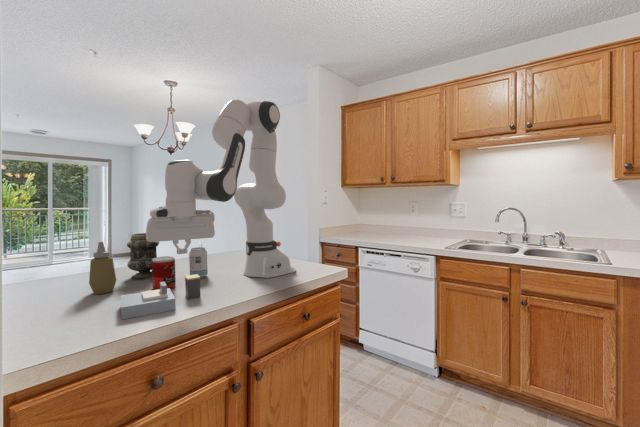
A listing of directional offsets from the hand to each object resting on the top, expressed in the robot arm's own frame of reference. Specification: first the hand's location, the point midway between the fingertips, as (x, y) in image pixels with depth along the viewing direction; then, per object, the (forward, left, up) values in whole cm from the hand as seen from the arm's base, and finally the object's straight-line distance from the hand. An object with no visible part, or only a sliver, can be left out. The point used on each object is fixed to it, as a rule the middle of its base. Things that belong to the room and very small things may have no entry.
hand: (182, 253), depth 104 cm
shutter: (+8, 0, -12) cm, 15 cm away
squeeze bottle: (+22, -26, -16) cm, 38 cm away
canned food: (+3, -20, -16) cm, 26 cm away
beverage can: (-11, -28, -16) cm, 34 cm away
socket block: (+10, 0, -16) cm, 19 cm away
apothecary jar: (+8, -41, -16) cm, 45 cm away
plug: (-4, -4, -16) cm, 17 cm away
